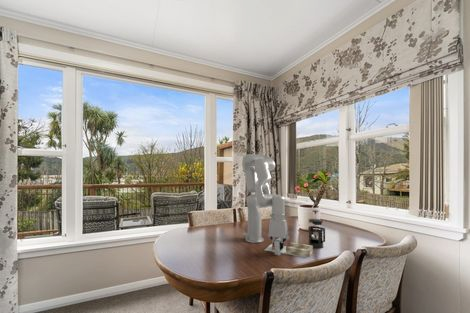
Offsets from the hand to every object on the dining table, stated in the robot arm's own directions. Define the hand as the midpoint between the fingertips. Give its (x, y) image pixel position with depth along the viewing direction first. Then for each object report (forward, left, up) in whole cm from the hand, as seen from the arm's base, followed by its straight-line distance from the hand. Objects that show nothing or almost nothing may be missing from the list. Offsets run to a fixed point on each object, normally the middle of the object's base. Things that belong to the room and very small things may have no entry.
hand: (278, 248), depth 138 cm
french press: (+18, +25, -4) cm, 31 cm away
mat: (+4, +8, -3) cm, 10 cm away
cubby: (+11, +8, -3) cm, 14 cm away
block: (-3, +8, -3) cm, 9 cm away
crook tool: (0, +3, -3) cm, 4 cm away
